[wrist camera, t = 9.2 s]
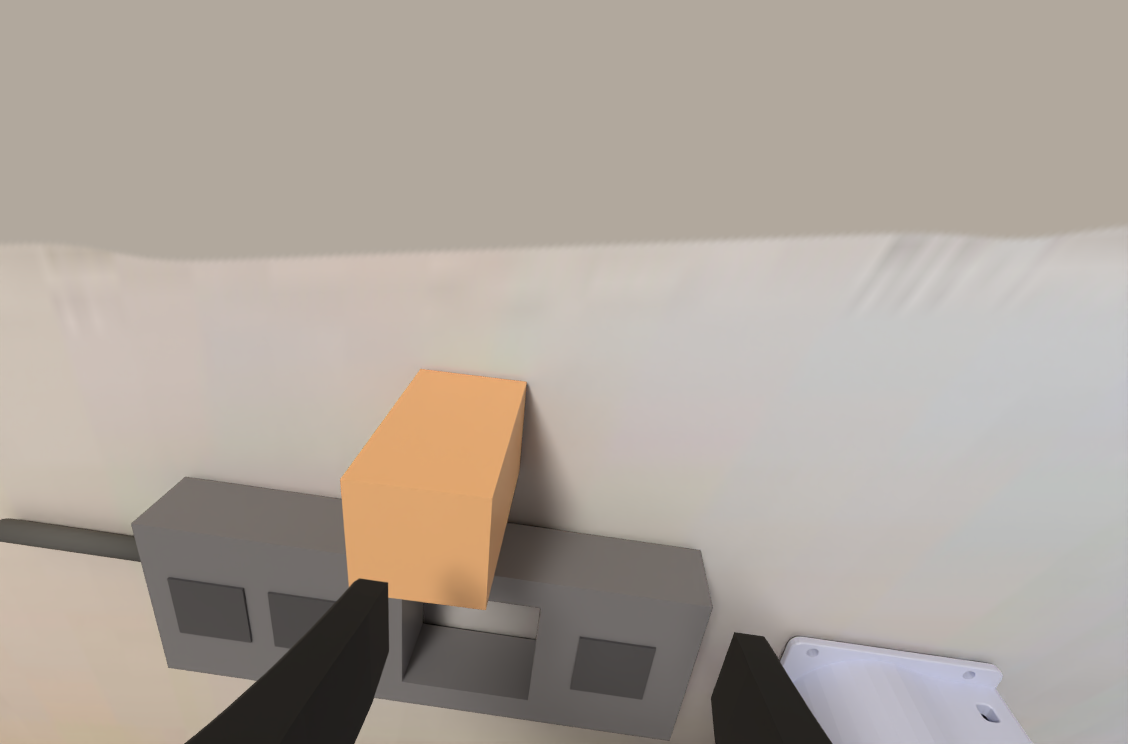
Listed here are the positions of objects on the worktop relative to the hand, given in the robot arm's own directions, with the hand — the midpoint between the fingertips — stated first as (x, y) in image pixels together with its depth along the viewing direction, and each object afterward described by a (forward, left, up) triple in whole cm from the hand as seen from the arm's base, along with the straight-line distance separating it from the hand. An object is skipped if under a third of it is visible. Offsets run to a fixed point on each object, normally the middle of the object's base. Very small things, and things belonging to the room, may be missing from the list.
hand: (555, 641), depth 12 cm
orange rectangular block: (+4, +1, -10) cm, 11 cm away
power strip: (+9, +10, -10) cm, 17 cm away
